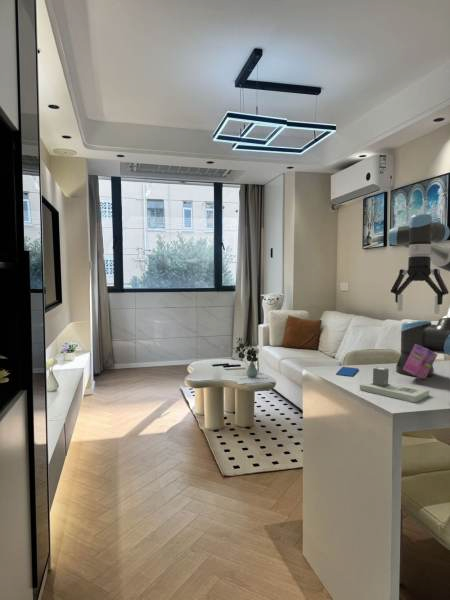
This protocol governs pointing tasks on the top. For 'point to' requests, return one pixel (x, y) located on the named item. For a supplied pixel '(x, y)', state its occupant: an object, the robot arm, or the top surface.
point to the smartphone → (347, 371)
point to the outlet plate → (396, 391)
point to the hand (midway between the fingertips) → (417, 312)
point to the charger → (380, 376)
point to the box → (420, 361)
